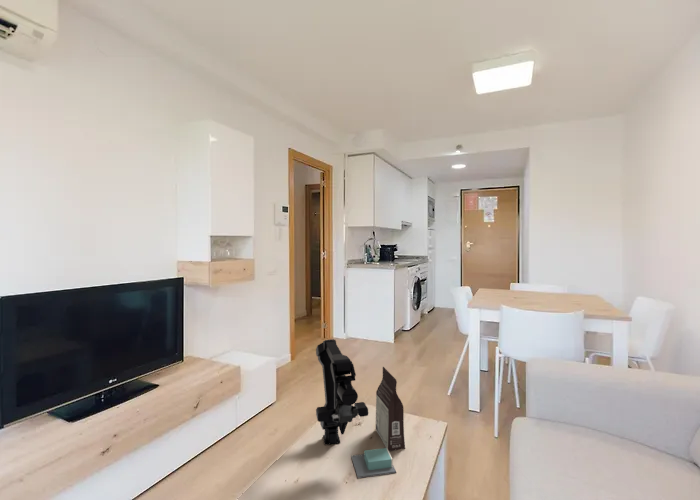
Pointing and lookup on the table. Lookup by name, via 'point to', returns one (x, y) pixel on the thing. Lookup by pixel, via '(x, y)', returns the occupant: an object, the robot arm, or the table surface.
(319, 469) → the table surface
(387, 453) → the slab
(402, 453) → the table surface
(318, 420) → the robot arm
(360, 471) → the mat
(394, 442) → the protein powder
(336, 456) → the table surface
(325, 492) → the table surface
